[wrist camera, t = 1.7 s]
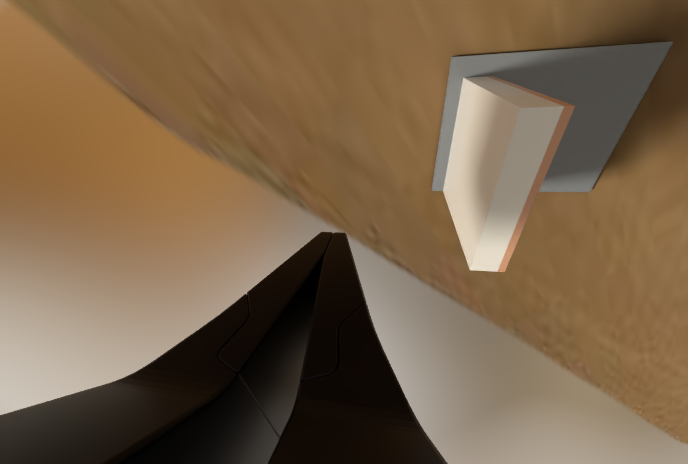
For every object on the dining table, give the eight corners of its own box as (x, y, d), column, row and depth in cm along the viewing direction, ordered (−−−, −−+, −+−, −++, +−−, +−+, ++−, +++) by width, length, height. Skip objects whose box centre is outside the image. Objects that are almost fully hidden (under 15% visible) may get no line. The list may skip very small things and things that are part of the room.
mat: (668, 41, 12) (673, 41, 12) (587, 190, 17) (589, 192, 17) (451, 56, 14) (452, 57, 14) (431, 188, 19) (432, 190, 19)
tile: (492, 76, 14) (574, 105, 8) (465, 191, 18) (504, 271, 12) (463, 77, 14) (520, 107, 8) (442, 190, 18) (470, 270, 12)
